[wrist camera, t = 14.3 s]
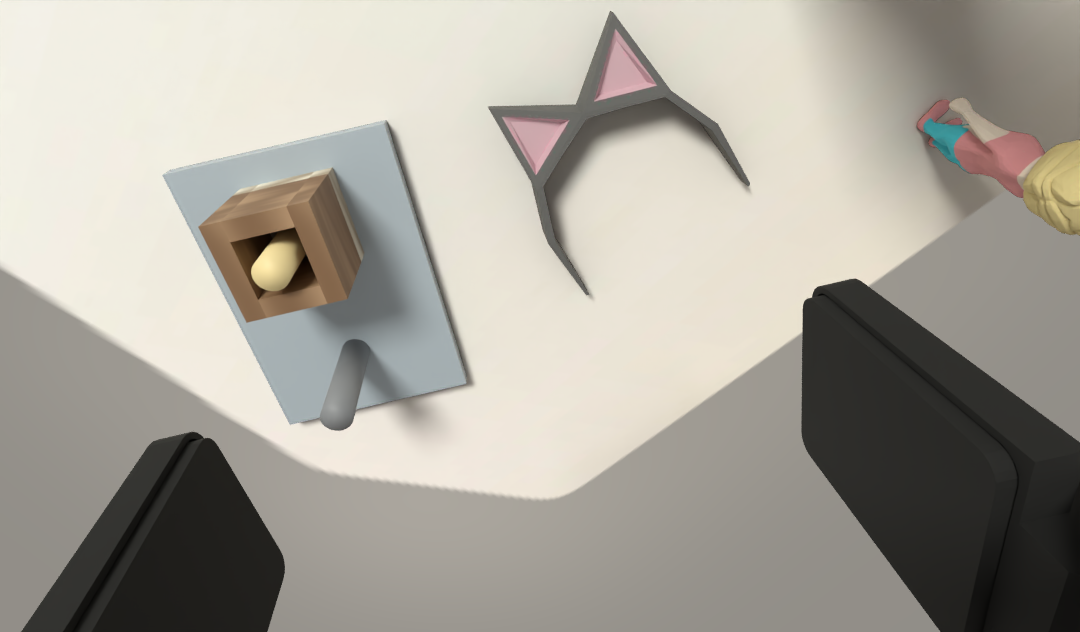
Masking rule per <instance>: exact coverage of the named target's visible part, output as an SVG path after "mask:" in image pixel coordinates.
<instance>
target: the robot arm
mask: <svg viewBox="0 0 1080 632" xmlns="http://www.w3.org/2000/svg"><path fill="white" fill-rule="evenodd" d="M802 344H803V345H802V346H803V347H802V438H803V442H804V445H805V447H806V450H807V452H808V453H809V455H810V456H811V458H812V459H813V460H814V462H815V463H816V465H817V466H818V467H819V469H820V470H821V471H822V473H823V474H824V475H825V477H826V478H827V479H828V481H829V482H830V483H831V485H832V486H833V487H834V489H835V490H836V491H837V493H838V494H839V495H840V497H841V498H842V500H843V501H844V502H845V504H846V505H847V506H848V508H849V509H850V510H851V512H852V513H853V514H854V516H855V517H856V518H857V520H858V521H859V522H860V524H861V525H862V526H863V528H864V529H865V530H866V532H867V533H868V535H869V536H870V537H871V539H872V540H873V541H874V543H875V544H876V545H877V547H878V548H879V549H880V551H881V552H882V553H883V555H884V556H885V557H886V559H887V560H888V561H889V563H890V564H891V565H892V567H893V568H894V570H895V571H896V572H897V574H898V575H899V576H900V578H901V579H902V580H903V582H904V583H905V584H906V586H907V587H908V589H909V590H910V591H911V592H912V594H913V595H914V597H915V598H916V599H917V601H918V602H919V603H920V605H921V606H922V607H923V609H924V610H925V611H926V613H927V614H928V615H929V617H930V618H931V619H932V621H933V622H934V624H935V625H936V626H937V627H938V629H939V630H940V632H1080V442H1078V441H1077V440H1076V439H1074V438H1073V437H1072V436H1070V435H1069V434H1067V433H1066V432H1065V431H1064V430H1062V429H1061V428H1059V427H1058V426H1057V425H1055V424H1054V423H1053V422H1051V421H1050V420H1049V419H1047V418H1046V417H1044V416H1043V415H1042V414H1040V413H1039V412H1038V411H1036V410H1035V409H1034V408H1032V407H1031V406H1030V405H1028V404H1027V403H1025V402H1024V401H1023V400H1021V399H1020V398H1019V397H1017V396H1016V395H1015V394H1013V393H1012V392H1010V391H1009V390H1008V389H1007V388H1005V387H1004V386H1002V385H1001V384H1000V383H998V382H997V381H996V380H994V379H993V378H991V377H990V376H989V375H988V374H986V373H985V372H983V371H982V370H981V369H979V368H978V367H977V366H975V365H974V364H973V363H971V362H970V361H969V360H967V359H966V358H965V357H963V356H962V355H960V354H959V353H958V352H956V351H955V350H953V349H952V348H951V347H949V346H948V345H947V344H946V343H944V342H943V341H941V340H940V339H939V338H937V337H936V336H934V335H933V334H932V333H931V332H929V331H928V330H927V329H925V328H923V327H922V326H921V325H920V324H918V323H917V322H916V321H914V320H913V319H912V318H910V317H909V316H908V315H906V314H905V313H903V312H902V311H901V310H899V309H898V308H897V307H895V306H894V305H892V304H891V303H890V302H889V301H887V300H886V299H884V298H883V297H882V296H880V295H879V294H878V293H876V292H875V291H874V290H872V289H871V288H870V287H868V286H867V285H866V284H864V283H863V282H861V281H860V280H858V279H849V280H845V281H841V282H836V283H832V284H828V285H823V286H819V287H817V288H816V289H815V290H814V292H813V295H812V298H809V299H806V300H805V302H804V304H803V343H802ZM284 573H285V565H284V559H283V555H282V553H281V551H280V549H279V548H278V546H277V545H276V543H275V541H274V539H273V538H272V536H271V534H270V533H269V531H268V529H267V528H266V526H265V524H264V523H263V521H262V519H261V518H260V516H259V514H258V512H257V511H256V509H255V507H254V506H253V504H252V502H251V501H250V499H249V497H248V496H247V494H246V492H245V491H244V489H243V487H242V486H241V484H240V482H239V481H238V479H237V477H236V476H235V474H234V473H233V471H232V469H231V467H230V466H229V464H228V462H227V461H226V459H225V457H224V456H223V454H222V452H221V451H220V449H219V447H218V446H217V444H216V443H215V442H214V441H213V440H212V439H210V438H205V439H204V438H203V437H202V436H201V435H200V434H198V433H196V432H189V433H185V434H181V435H176V436H172V437H168V438H163V439H159V440H156V441H153V442H152V443H151V444H150V445H149V446H148V447H147V449H146V450H145V452H144V453H143V455H142V456H141V458H140V459H139V461H138V462H137V463H136V465H135V466H134V468H133V470H132V471H131V472H130V474H129V475H128V477H127V478H126V480H125V481H124V483H123V484H122V485H121V487H120V489H119V490H118V492H117V493H116V494H115V496H114V497H113V499H112V500H111V502H110V503H109V505H108V506H107V507H106V509H105V510H104V512H103V513H102V515H101V516H100V518H99V519H98V520H97V522H96V523H95V525H94V526H93V528H92V529H91V531H90V532H89V534H88V535H87V537H86V538H85V539H84V541H83V542H82V544H81V545H80V547H79V548H78V550H77V551H76V553H75V554H74V556H73V557H72V558H71V560H70V561H69V563H68V564H67V566H66V567H65V569H64V570H63V572H62V573H61V575H60V576H59V578H58V579H57V580H56V582H55V583H54V585H53V586H52V588H51V589H50V591H49V592H48V594H47V595H46V596H45V598H44V600H43V601H42V602H41V604H40V605H39V607H38V608H37V610H36V611H35V613H34V614H33V616H32V617H31V619H30V620H29V621H28V623H27V624H26V626H25V627H24V629H23V630H22V632H267V631H268V627H269V624H270V621H271V617H272V614H273V611H274V608H275V605H276V601H277V598H278V595H279V591H280V588H281V585H282V581H283V578H284Z"/></svg>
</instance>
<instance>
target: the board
mask: <svg viewBox="0 0 1080 632" xmlns="http://www.w3.org/2000/svg"><path fill="white" fill-rule="evenodd" d="M332 167H333V170H334V172H335V175H336V178H337V180H338V183H339V186H340V189H341V191H342V194H343V197H344V199H345V202H346V205H347V207H348V210H349V213H350V215H351V218H352V221H353V223H354V226H355V229H356V231H357V234H358V237H359V239H360V242H361V245H362V248H363V250H364V256H363V259H362V262H361V264H360V267H359V270H358V273H357V275H356V278H355V281H354V283H353V286H352V289H351V292H350V294H349V297H348V299H346V300H342V301H338V302H333V303H329V304H325V305H320V306H316V307H312V308H308V309H303V310H299V311H295V312H291V313H286V314H282V315H278V316H273V317H269V318H265V319H261V320H256V321H252V322H248V323H246V321H245V319H244V317H243V315H242V313H241V311H240V309H239V307H238V305H237V303H236V301H235V299H234V297H233V295H232V293H231V291H230V289H229V287H228V285H227V283H226V281H225V279H224V277H223V275H222V273H221V271H220V269H219V267H218V265H217V263H216V261H215V259H214V257H213V255H212V253H211V252H210V250H209V248H208V246H207V244H206V242H205V240H204V238H203V236H202V234H201V232H200V230H199V228H198V226H200V225H201V224H202V223H203V222H204V221H205V220H206V219H207V218H208V217H210V216H211V215H212V214H213V213H214V212H215V211H216V210H217V209H218V208H219V207H221V206H222V205H223V204H224V203H225V202H226V201H227V200H228V199H229V198H230V197H232V196H233V195H234V194H235V193H236V192H237V191H238V190H239V189H242V188H246V187H250V186H255V185H259V184H263V183H268V182H272V181H276V180H280V179H285V178H289V177H293V176H298V175H302V174H306V173H310V172H315V171H319V170H323V169H328V168H332ZM163 177H164V179H165V181H166V183H167V185H168V187H169V189H170V191H171V193H172V195H173V197H174V199H175V201H176V203H177V205H178V207H179V209H180V210H181V212H182V214H183V216H184V218H185V220H186V222H187V224H188V226H189V228H190V230H191V232H192V234H193V236H194V238H195V240H196V242H197V244H198V246H199V248H200V250H201V252H202V254H203V256H204V257H205V259H206V261H207V263H208V265H209V267H210V269H211V271H212V273H213V275H214V277H215V279H216V281H217V283H218V285H219V287H220V289H221V291H222V293H223V295H224V297H225V299H226V301H227V302H228V304H229V306H230V308H231V310H232V312H233V314H234V316H235V318H236V320H237V322H238V324H239V326H240V328H241V330H242V332H243V334H244V336H245V338H246V340H247V342H248V344H249V346H250V347H251V349H252V351H253V353H254V355H255V357H256V359H257V361H258V363H259V365H260V367H261V369H262V371H263V373H264V375H265V377H266V379H267V381H268V383H269V385H270V387H271V389H272V391H273V393H274V394H275V396H276V398H277V400H278V402H279V404H280V406H281V408H282V410H283V412H284V414H285V416H286V418H287V420H288V422H289V424H290V425H291V424H295V423H299V422H304V421H308V420H312V419H317V418H320V420H321V422H322V424H323V425H324V426H325V427H327V428H329V429H331V430H344V429H346V428H348V427H349V426H350V425H351V424H352V422H353V419H354V415H355V411H356V409H360V408H364V407H368V406H373V405H377V404H381V403H386V402H390V401H394V400H399V399H403V398H407V397H411V396H416V395H420V394H424V393H429V392H433V391H437V390H442V389H446V388H450V387H455V386H459V385H463V384H466V372H465V369H464V366H463V363H462V360H461V356H460V353H459V350H458V347H457V344H456V341H455V337H454V334H453V331H452V328H451V325H450V321H449V318H448V315H447V312H446V309H445V306H444V302H443V299H442V296H441V293H440V290H439V287H438V283H437V280H436V277H435V274H434V271H433V268H432V264H431V261H430V258H429V255H428V252H427V248H426V245H425V242H424V239H423V236H422V233H421V229H420V226H419V223H418V220H417V217H416V214H415V210H414V207H413V204H412V201H411V198H410V195H409V191H408V188H407V185H406V182H405V179H404V175H403V172H402V169H401V166H400V163H399V160H398V156H397V153H396V150H395V147H394V144H393V141H392V137H391V134H390V131H389V128H388V125H387V121H386V120H385V121H380V122H376V123H372V124H367V125H363V126H359V127H354V128H350V129H346V130H341V131H337V132H333V133H328V134H324V135H320V136H315V137H311V138H307V139H302V140H298V141H294V142H289V143H285V144H281V145H276V146H272V147H268V148H263V149H259V150H255V151H250V152H246V153H242V154H237V155H233V156H229V157H224V158H220V159H216V160H211V161H207V162H203V163H198V164H194V165H190V166H185V167H181V168H177V169H172V170H170V171H168V172H166V173H165V174H163ZM305 255H306V252H305V250H304V247H303V245H302V243H301V240H300V238H299V235H298V233H297V231H296V228H295V227H294V228H289V229H285V230H281V231H278V232H277V234H276V235H275V236H274V238H273V239H272V240H271V242H270V243H269V244H268V246H267V247H266V248H265V250H264V251H263V252H262V254H261V255H260V256H259V258H258V259H257V260H256V262H255V263H254V264H253V266H252V269H251V275H252V278H253V280H254V282H255V283H256V284H257V285H258V286H259V287H261V288H263V289H265V290H268V291H279V290H282V289H284V288H285V287H286V286H287V285H288V283H289V282H290V280H291V278H292V277H293V275H294V273H295V272H296V270H297V268H298V266H299V265H300V263H301V261H302V260H303V258H304V256H305Z"/></svg>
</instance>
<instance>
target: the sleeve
mask: <svg viewBox="0 0 1080 632" xmlns="http://www.w3.org/2000/svg"><path fill="white" fill-rule="evenodd" d="M294 227H295V228H296V231H297V233H298V235H299V238H300V240H301V243H302V245H303V247H304V250H305V252H306V255H305V256H304V258H303V260H302V261H301V263H300V265H299V266H298V268H297V270H296V272H295V273H294V275H293V277H292V278H291V280H290V282H289V283H288V285H287V286H286V287H285V288H284V289H282V290H279V291H268V290H265V289H263V288H261V287H259V286H258V285H257V284H256V283H255V282H254V280H253V278H252V275H251V269H252V266H253V264H254V263H255V262H256V260H257V259H258V258H259V256H260V255H261V254H262V252H263V251H264V250H265V248H266V247H267V246H268V244H269V243H270V242H271V240H272V239H273V238H274V236H275V235H276V234H277V232H278V231H281V230H285V229H289V228H294ZM198 228H199V230H200V232H201V234H202V236H203V238H204V240H205V242H206V244H207V246H208V248H209V250H210V252H211V253H212V255H213V257H214V259H215V261H216V263H217V265H218V267H219V269H220V271H221V273H222V275H223V277H224V279H225V281H226V283H227V285H228V287H229V289H230V291H231V293H232V295H233V297H234V299H235V301H236V303H237V305H238V307H239V309H240V311H241V313H242V315H243V317H244V319H245V321H246V323H248V322H252V321H256V320H261V319H265V318H269V317H273V316H278V315H282V314H286V313H291V312H295V311H299V310H303V309H308V308H312V307H316V306H320V305H325V304H329V303H333V302H338V301H342V300H346V299H348V297H349V294H350V292H351V289H352V286H353V283H354V281H355V278H356V275H357V273H358V270H359V267H360V264H361V262H362V259H363V256H364V250H363V248H362V245H361V242H360V239H359V237H358V234H357V231H356V229H355V226H354V223H353V221H352V218H351V215H350V213H349V210H348V207H347V205H346V202H345V199H344V197H343V194H342V191H341V189H340V186H339V183H338V180H337V178H336V175H335V172H334V170H333V167H332V168H328V169H323V170H319V171H315V172H310V173H306V174H302V175H298V176H293V177H289V178H285V179H280V180H276V181H272V182H268V183H263V184H259V185H255V186H250V187H246V188H242V189H239V190H238V191H237V192H236V193H235V194H234V195H233V196H232V197H230V198H229V199H228V200H227V201H226V202H225V203H224V204H223V205H222V206H221V207H219V208H218V209H217V210H216V211H215V212H214V213H213V214H212V215H211V216H210V217H208V218H207V219H206V220H205V221H204V222H203V223H202V224H201V225H200V226H198Z"/></svg>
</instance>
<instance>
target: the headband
mask: <svg viewBox="0 0 1080 632" xmlns="http://www.w3.org/2000/svg"><path fill="white" fill-rule="evenodd" d="M664 97H666V98H667V99H668V100H670V101H671V102H673V103H674V104H675V105H677V106H678V107H680V108H681V109H683V110H684V111H685V112H687V113H688V114H690V115H691V116H693V117H694V118H695V119H697V120H698V121H699V122H700V123H701V125H702V126H703V127H704V129H705V130H706V132H707V133H708V135H709V136H710V137H711V139H712V140H713V142H714V143H715V144H716V146H717V147H718V149H719V150H720V151H721V153H722V154H723V156H724V157H725V158H726V160H727V161H728V163H729V164H730V165H731V167H732V168H733V170H734V171H735V173H736V174H737V175H738V177H739V178H740V180H741V181H742V182H744V183H745V184H746V185H747V186H749V185H750V182H749V181H748V179H747V177H746V175H745V173H744V171H743V170H742V168H741V166H740V164H739V162H738V160H737V158H736V157H735V155H734V153H733V151H732V149H731V147H730V146H729V144H728V142H727V140H726V138H725V136H724V134H723V133H722V131H721V129H720V127H719V125H718V124H717V123H716V122H714V121H713V120H711V119H710V118H708V117H707V116H706V115H704V114H703V113H701V112H700V111H699V110H697V109H696V108H694V107H693V106H692V105H690V104H689V103H687V102H686V101H685V100H683V99H682V98H680V97H679V96H678V95H676V94H675V93H673V92H672V91H671V90H670V89H669V87H668V86H667V85H666V83H665V82H664V81H663V79H662V78H661V77H660V75H659V74H658V73H657V71H656V70H655V69H654V67H653V66H652V64H651V63H650V62H649V60H648V59H647V58H646V56H645V55H644V54H643V52H642V51H641V50H640V48H639V47H638V46H637V44H636V43H635V42H634V40H633V39H632V38H631V36H630V35H629V33H628V32H627V31H626V29H625V28H624V27H623V25H622V24H621V23H620V21H619V20H618V19H617V17H616V16H615V15H614V13H613V12H611V11H610V13H609V15H608V18H607V21H606V24H605V26H604V29H603V32H602V35H601V37H600V40H599V43H598V46H597V48H596V51H595V54H594V57H593V59H592V62H591V65H590V68H589V70H588V73H587V76H586V79H585V81H584V84H583V87H582V89H581V92H580V95H579V98H578V100H577V103H576V105H536V106H488V108H489V110H490V112H491V113H492V115H493V117H494V118H495V120H496V122H497V124H498V125H499V127H500V129H501V130H502V132H503V134H504V136H505V137H506V139H507V141H508V142H509V144H510V146H511V148H512V149H513V151H514V153H515V154H516V156H517V158H518V160H519V161H520V163H521V165H522V166H523V168H524V170H525V172H526V173H527V175H528V177H529V178H530V180H531V183H532V187H533V191H534V195H535V199H536V204H537V208H538V212H539V216H540V220H541V224H542V229H543V232H544V234H545V236H546V239H547V241H548V244H549V245H550V247H551V248H552V249H553V251H554V252H555V253H556V255H557V256H558V258H559V259H560V260H561V262H562V263H563V264H564V266H565V267H566V268H567V270H568V271H569V272H570V274H571V275H572V276H573V278H574V279H575V280H576V282H577V283H578V284H579V286H580V287H581V289H582V290H583V291H584V293H585V294H586V295H589V293H588V291H587V289H586V287H585V285H584V284H583V282H582V280H581V279H580V277H579V275H578V274H577V272H576V270H575V269H574V267H573V265H572V264H571V262H570V261H569V259H568V257H567V256H566V254H565V252H564V251H563V249H562V247H561V246H560V244H559V242H558V241H557V239H556V238H555V236H554V233H553V228H552V224H551V219H550V215H549V210H548V206H547V201H546V197H545V192H544V188H543V186H544V184H545V183H546V181H547V180H548V178H549V176H550V175H551V173H552V172H553V170H554V168H555V167H556V165H557V163H558V162H559V160H560V159H561V157H562V155H563V154H564V152H565V151H566V149H567V148H568V146H569V145H570V143H571V142H572V140H573V139H574V137H575V136H576V134H577V133H578V131H579V130H580V128H581V127H582V125H583V124H584V122H585V121H586V119H587V118H591V117H594V116H598V115H601V114H604V113H608V112H611V111H615V110H618V109H622V108H625V107H628V106H632V105H636V104H640V103H644V102H648V101H652V100H656V99H660V98H664Z"/></svg>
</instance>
